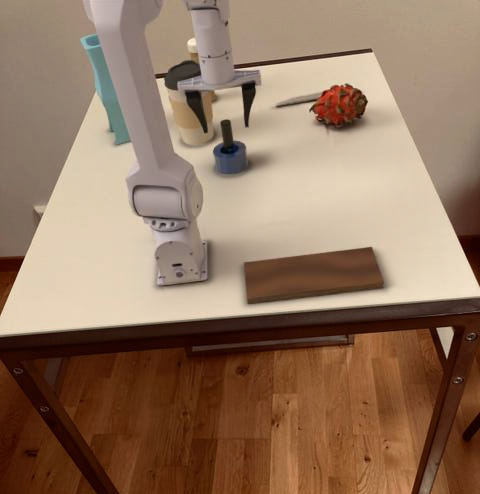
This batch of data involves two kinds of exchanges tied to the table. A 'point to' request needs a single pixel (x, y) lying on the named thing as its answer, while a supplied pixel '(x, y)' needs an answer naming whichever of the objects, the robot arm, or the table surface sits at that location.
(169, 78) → the coffee cup
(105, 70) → the vase
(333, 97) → the dragon fruit
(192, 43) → the sprinkles bottle
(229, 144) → the screwdriver
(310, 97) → the chef's knife
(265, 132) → the table surface
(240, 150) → the utensil cup
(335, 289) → the cutting board
